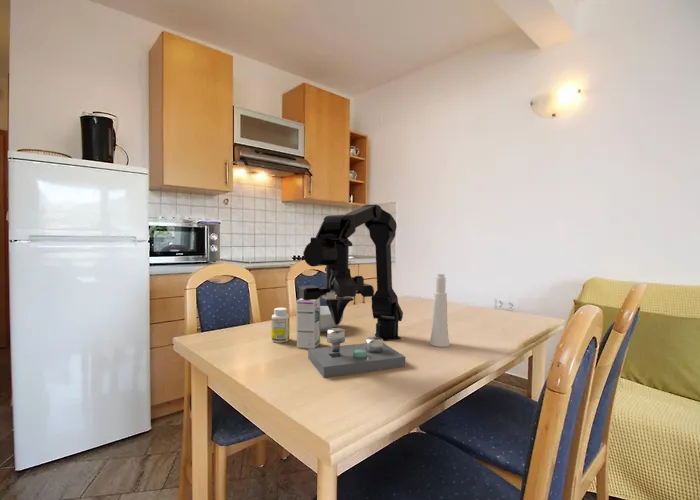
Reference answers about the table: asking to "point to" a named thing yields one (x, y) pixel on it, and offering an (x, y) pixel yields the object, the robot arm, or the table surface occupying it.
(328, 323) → the cereal bowl
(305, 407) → the table surface
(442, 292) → the cosmetic bottle
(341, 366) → the panel
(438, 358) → the table surface
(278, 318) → the supplement bottle
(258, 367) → the table surface
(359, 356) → the teal flat disc
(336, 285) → the robot arm
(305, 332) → the syrup box
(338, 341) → the knob
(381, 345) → the knob
